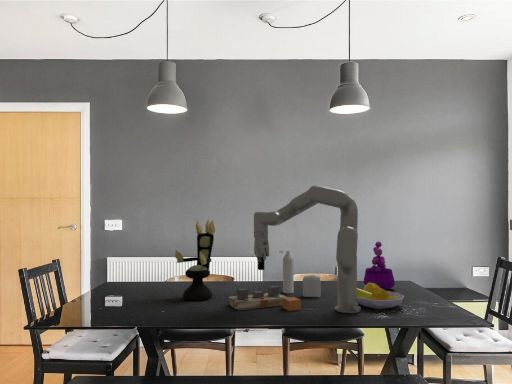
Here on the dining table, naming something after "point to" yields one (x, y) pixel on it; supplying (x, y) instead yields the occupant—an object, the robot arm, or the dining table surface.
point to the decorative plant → (379, 271)
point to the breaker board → (256, 302)
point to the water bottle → (288, 273)
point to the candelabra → (199, 264)
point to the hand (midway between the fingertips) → (261, 269)
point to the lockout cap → (291, 304)
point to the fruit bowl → (377, 297)
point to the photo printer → (311, 286)
